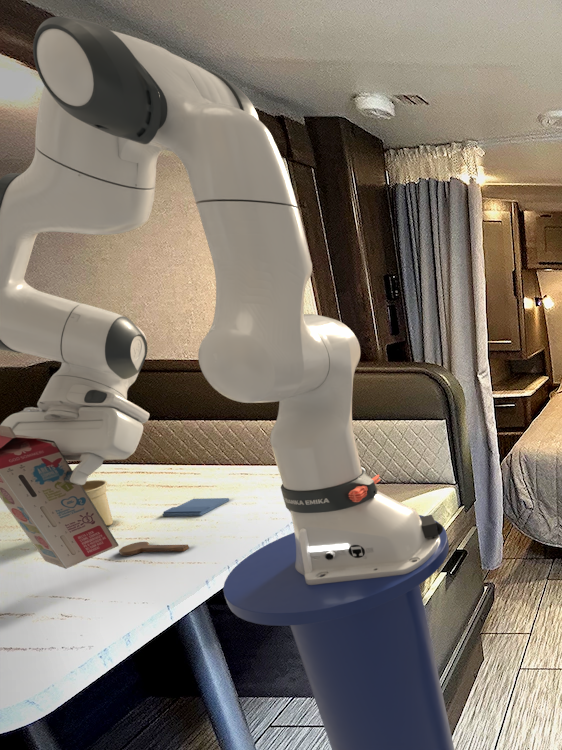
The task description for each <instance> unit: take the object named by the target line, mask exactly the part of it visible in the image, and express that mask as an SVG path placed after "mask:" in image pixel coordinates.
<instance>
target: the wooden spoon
mask: <svg viewBox="0 0 562 750" xmlns="http://www.w3.org/2000/svg"><path fill="white" fill-rule="evenodd" d="M189 549H190V546H189V544H150V543H149V542H148V541H137V542H132V543H130V544H127V545H125V546H122V547H121V548H119V549H118V553H119V555H120V556H122V557H128V556H129V557H130V556H135V555H138V554H141V553H155V552H156V553H157V552H158V553H159V552H164V553H165V552H166V553H167V552H186V551H187V550H189Z"/></svg>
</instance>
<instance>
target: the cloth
mask: <svg viewBox="0 0 562 750" xmlns="http://www.w3.org/2000/svg"><path fill="white" fill-rule="evenodd" d="M229 501H230V498H229V497H219V498H218V497H216V498H214V497H211V498H209V497H208V498H192V499H190V500H188V501H186V502H184V503H182V504H180V505H178V506H173V507H171V508H169V509H166V510H164V511H163V513H162V517H202V516H203V515H205V514H208V513H209V512H211V511H212V510H215V509H217V508H218V507H220V506H222V505H224V504H226V503H227V502H229Z"/></svg>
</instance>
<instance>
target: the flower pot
mask: <svg viewBox="0 0 562 750" xmlns="http://www.w3.org/2000/svg"><path fill="white" fill-rule="evenodd" d="M107 485H108V481H106V480H104V479H93V480H87V481H86V483H85V484H84V485H82V487H83V488H84V490H85V492H86V493H87V495H88V497H89V498H90V500H91V501H92V503H93V505H94V506H95V508H96V509H97V511H98V513H99V514H100V516H101V517H102V519H103V521H104V522H105V524H106V525H107V527H109V526H112V525H113V523H114V520H113V516H112V513H111V509H110V504H109V500H108V496H107Z"/></svg>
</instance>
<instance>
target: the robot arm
mask: <svg viewBox="0 0 562 750" xmlns="http://www.w3.org/2000/svg"><path fill="white" fill-rule="evenodd" d="M32 54H33V61H34V65H35V69H36V71H37V74H38V76H39V79H40V80H41V82H42V83H43V84H42V85H44V86H43V89H42V91H41V96H40V100H39V105H38V110H37V115H36V124H35V140H34V141H35V142H34V143H35V145H34V156H33V159H32V161H31V163H30V165H29V166H28V168H26V170H25V171H24V172H22V173H21V172H19V173H18V172H16V173H15V172H14V173H7V174H5V175H3V176H1V178H0V350H1V351H7V352H12V353H18V354H26V355H29V356H34V357H37V358H43V359H47V360H51V361H56V362H59V363H61V365H60V367H59V369H58V370H57V371H56V372H55V373H53V374H52V376H51V377H50V378H49V380H48V382H47V384H46V386H45V388H44V390H43V392H42V394H41V395H40V396H39V397H40V398H39V399H38V401H37V403H36V406H37V407H35V406H28V407H24V408H23V410H21V411H18V412H15V413H12V414H10V415H9V416H7V417H6V418H5V419H4V420H3V421H2V422H1V423H0V425H2V426H7V427H11V429H12V430H13V432H14V434H15V435H21V436H29V437H34V438H40V439H45V440H51V441H54V442H55V444H56V445H57V447H58V448H59V450H60V452H61V453H62V455H63V456H64V458H65V460H66V461H67V462H77V461H80V462H79V463H78V464H77V465H76V466H75V467H74V468H73V469H72V471H67V473H66V477H64V482H66V483H69V484H71V485H84V484H85V483H86V481H88V478H89V476H90V475H92V474H93V473H94V472H95V471H98V469H99V468H100V467H102V465H103V463H104V461H114V460H115V461H117V460H119V461H120V460H121V461H122V460H126V459H128V458H129V457H131V455H133V454H134V453H135V452H136V450H137V448H138V445H139V444H140V441H141V439H142V435H143V433H144V425H143V424H146V423H147V422H148V421H149V418H150V413H149V412H148V411H146V410H145V409H143V408H142V407H141V406H139V405H137V404H135V403H134V402H131V401H130V400H128V391H129V388H131V386H132V385H133V384H134V383H135V382H136V380H137V378H138V376H139V374H140V372H141V370H142V368H143V365H144V363H145V361H146V358H147V355H148V341H147V336H146V334H145V333H144V331H143V330H142V329H141V328H140V327H139V326H137V325H136V324H135V323H134V322H133V321H132V320H131V319H130V318H129V317H127V316H125V315H122V314H120V313H117V312H115V311H111V310H107V309H106V308H105V309H104V308H101V307H97V306H94V305H90V304H88V303H81V302H78V301H75V300H72V299H69V298H65V297H61V296H58V295H56V294H55V295H54V294H52V293H47V292H45V291H42V290H41V291H40V290H38V289H36V288H35V287H33V286H32V285H29V283H27V281H26V280H25V275H26V272H27V269H28V265H29V262H30V259H31V255H32V251H33V248H34V246H35V241H36V238H37V237H38V235H39V234H40V233H68V234H69V233H71V234H79V235H80V234H81V235H92V236H93V235H94V236H109V235H110V236H111V235H119V234H125V233H130V232H132V231H135V230H138V229H139V228H141V227H142V226H143V225H145V224H146V223H147V222H148V220H149V219H150V216H151V213H152V210H153V206H154V201H155V195H156V183H157V182H156V180H157V163H158V158H159V156H160V154H161V153H162V152H163V151H169V152H172V153H173V154H174V155H176V156H177V158H178V159H179V160H180V162H181V164H183V167H184V169H185V171H186V174H187V177H188V180H189V181H188V182H189V185H190V188H191V191H192V195H193V198H194V202H195V206H196V208H197V211H198V214H199V218H200V221H201V225H202V228H203V232H204V236H205V238H206V242H207V245H208V249H209V252H210V255H211V259H212V265H213V269H214V276H215V307H214V308H215V309H214V315H213V319H212V323H211V326H210V328H209V330H208V332H207V333H206V335H205V336H204V337H203V339H201V342H200V345H199V348H198V351H197V352H198V355H197V357H198V364H199V367H200V370H201V373H202V375H203V376H204V379H205V380H206V381H207V382H208V384H209V385H210V386H211V387H212V388H213V389H214V390H215V391H216V392H218V393H219V394H221V395H222V396H224V397H225V398H226V399H229V400H232V401H235V402H238V403H243V404H244V403H245V404H259V403H261V404H262V403H263V404H264V403H275V402H276V403H277V402H279V403H278V404H279V405H278V411H277V417H276V420H275V423H274V425H273V427H272V428H271V431H270V436H269V444H270V447H271V450H272V453H273V457H274V460H275V463H276V467H277V469H278V473H279V477H280V479H281V485H280V491H281V494H282V499H283V502H284V505H285V508H286V509H287V510H288V511H289V513H290V517H291V521H292V526H293V531H294V532H293V533H295V541H296V563H295V568H296V570H297V571H298V572H299V573H301V574H302V575H304V576H305V582H306V584H308V585H317V584H325V583H334V582H343V581H352V580H361V579H370V578H378V577H387V576H396V575H403V574H407V573H409V572H411V571H413V570H415V569H417V568H418V567H420V566H421V565H422V564H424V563H425V562H426V561H427V560H428V559H429V558H430V557H431V556H432V555H433V553H434V552H435V551H436V549H437V548H438V546H439V543H440V536H439V535H440V534H441V533H442V531H443V527H444V526H443V524H441V523H440V522H439V523H437V522H438V521H437V522H435V521H436V520H435V519H434V516H433V515H432V514H428V515H422V516H423V517H419V515H420V514H419V513H418V512H417V511H416V509H414V508H413V507H410V506H408V505H406V504H403V503H402V502H400V501H399V500H396V499H395V498H392V497H390V496H388V495H386V494H384V493H383V492H381V491H380V490H378V487H377V486H376V485H377V484H378V483H379V482H380V481H381V480H382V479H381V478H380V474H376V475H375V476H374V477H370V476H369V474H368V473H367V472H366V471H365V469H363V467H362V464H361V460H360V454H359V450H358V446H357V441H356V437H355V432H354V426H353V391H354V390H353V389H354V377H355V372H356V369H357V366H358V364H359V363H360V359H361V346H360V345H361V344H360V343H359V339H358V338H357V336H356V335H355V333H354V331H353V330H351V328H350V327H348V326H347V325H346V324H345V323H343V322H342V321H340V320H338V319H334V318H332V317H328V316H325V315H319V314H314V313H304V312H305V311H304V309H305V308H304V306H305V305H304V303H305V291H306V286H307V283H308V282H309V280H310V278H311V276H312V273H313V262H312V258H311V254H310V250H309V246H308V242H307V238H306V233H305V229H304V226H303V222H302V218H301V213H300V210H299V206H298V203H297V199H296V194H295V191H294V188H293V185H292V182H291V179H290V176H289V173H288V171H287V168H286V165H285V163H284V160H283V158H282V155H281V152H280V151H279V148H278V146H277V143H276V141H275V140H274V136H273V135H272V133H271V132H270V130H269V129H268V127H267V126H266V125H265V124H264V123H263V122H262V121H261V120H260V119H259V115H258V113H257V111H256V109H255V106H254V105H253V103H252V101H251V100H250V99H249V97H248V96H247V95H246V94H245V92H243V91H242V90H241V89H240V88H239V87H237V86H236V85H235V84H234V83H233V82H231V81H230V80H228V79H227V78H225V77H223V76H222V75H220V74H219V73H217V72H215V71H213V70H211V69H207V68H202V67H201V66H199V65H197V64H195V63H193V62H191V61H189V60H188V59H185V58H183V57H181V56H179V55H177V54H174V53H173V52H170V51H169V50H167V49H166V48H164V47H162V46H159V45H157V44H154V43H152V42H149V41H146V40H143V39H141V38H138V37H135V36H132V35H129V34H125V33H121V32H119V31H115V30H111V29H109V28H107V27H106V26H104V25H103V24H100V23H97V22H94V21H92V20H91V21H90V20H86V19H83V18H82V19H81V18H76V17H70V16H52V17H48V18H47V19H45V20H43V22H42V23H41V24H40V25H39V26H38V28H37V29H36V32H35V35H34V38H33V44H32Z"/></svg>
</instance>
